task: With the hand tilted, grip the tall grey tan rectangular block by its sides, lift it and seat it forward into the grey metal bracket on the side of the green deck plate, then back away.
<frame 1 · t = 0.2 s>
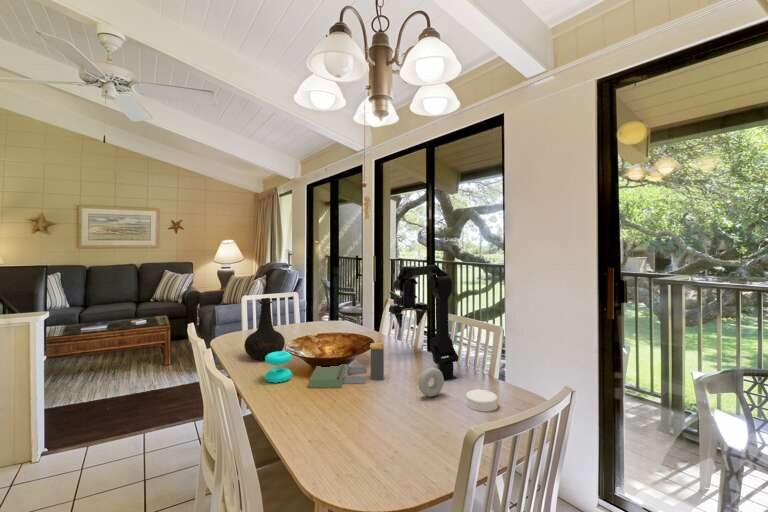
hand: (409, 326, 168), 15 cm above the table, tool pointing down, fingers open, 9 cm apart
donuts: (278, 379, 142), on the table
white round disc: (481, 406, 118), on the table
donut: (431, 396, 125), on the table
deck: (357, 377, 143), on the table
grey tan rectangular block: (377, 377, 143), on the table
dark bulbous vase: (265, 357, 170), on the table
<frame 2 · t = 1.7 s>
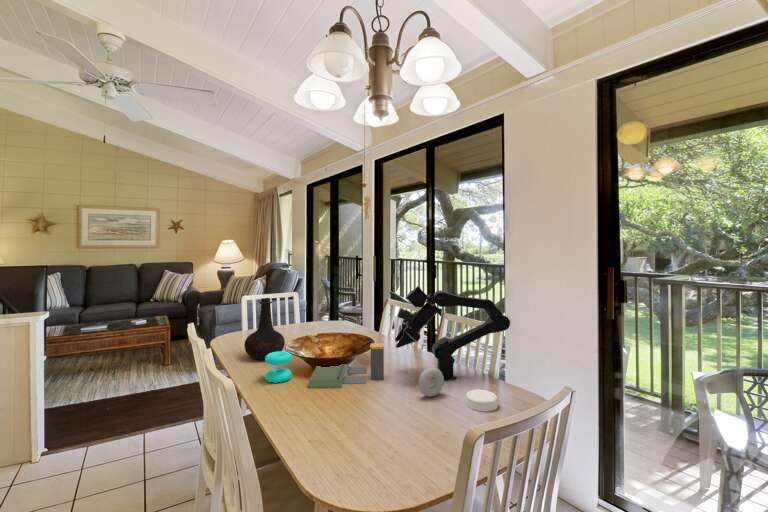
hand: (396, 343, 143), 13 cm above the table, tool tilted 45°, fingers open, 9 cm apart
nothing on the table moved.
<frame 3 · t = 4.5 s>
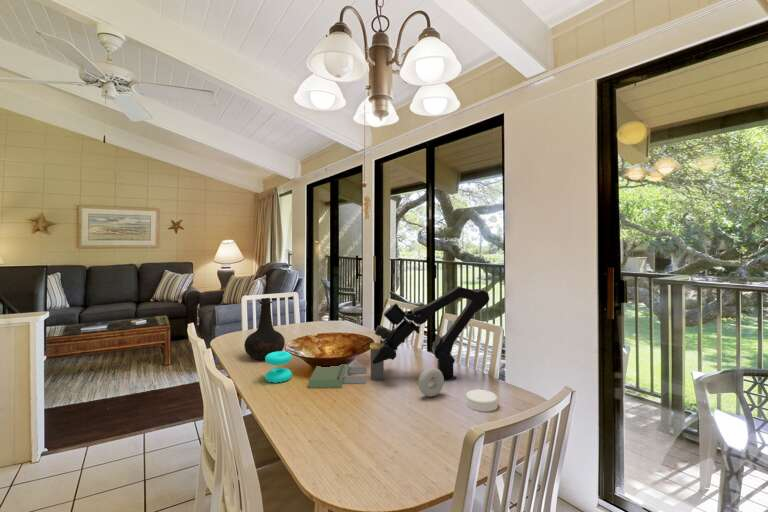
hand: (373, 360, 143), 7 cm above the table, tool tilted 45°, fingers closed on grey tan rectangular block, 5 cm apart
grey tan rectangular block: (377, 377, 143), on the table, touching gripper
everything else where it was.
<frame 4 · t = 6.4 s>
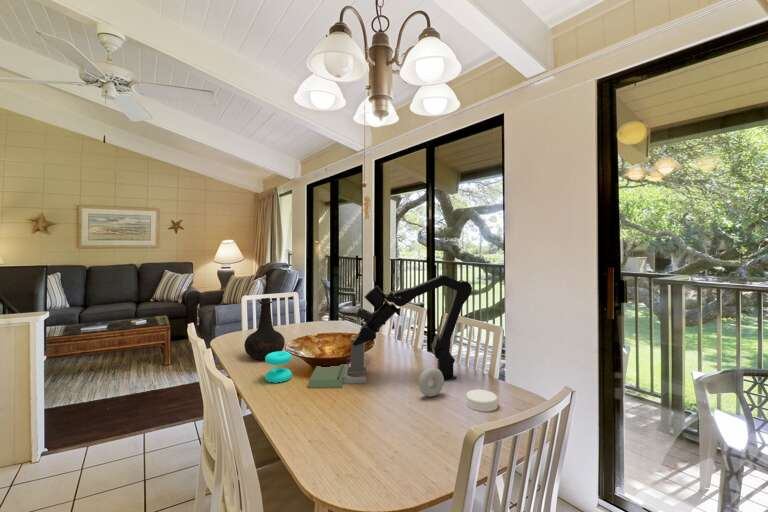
hand: (354, 343, 143), 14 cm above the table, tool tilted 45°, fingers closed on grey tan rectangular block, 5 cm apart
grey tan rectangular block: (357, 369, 143), point 3 cm above the table, touching gripper
everything else where it was.
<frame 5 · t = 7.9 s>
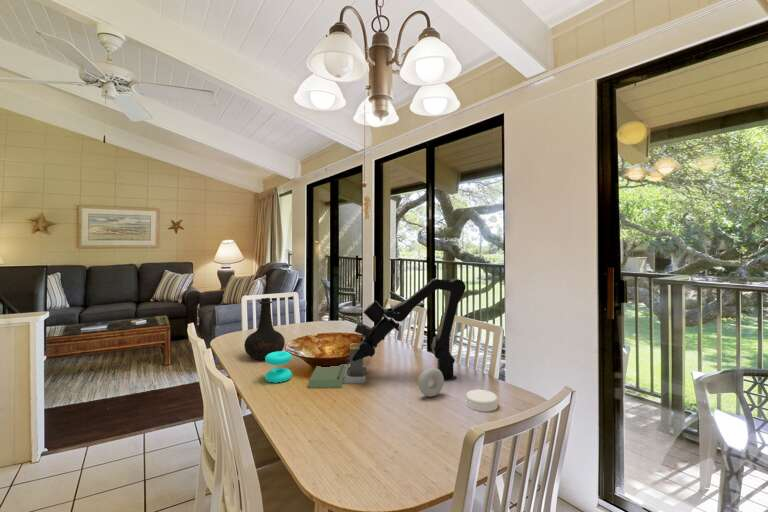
hand: (353, 358, 143), 8 cm above the table, tool tilted 45°, fingers closed on grey tan rectangular block, 5 cm apart
grey tan rectangular block: (356, 377, 143), on the table, touching gripper
everything else where it was.
when the fingers open (8 cm above the table, at t = 8.3 s): grey tan rectangular block stays where it is, on the table.
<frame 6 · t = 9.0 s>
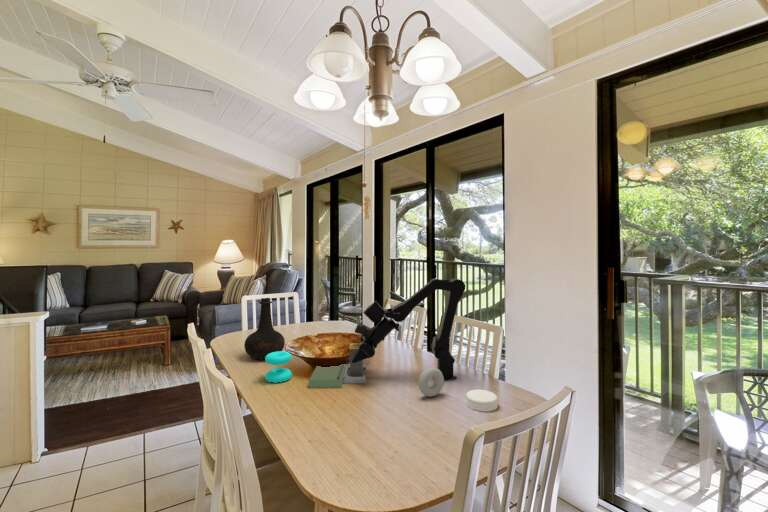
hand: (353, 358, 143), 8 cm above the table, tool tilted 45°, fingers open, 9 cm apart
grey tan rectangular block: (356, 377, 143), on the table
everything else where it was.
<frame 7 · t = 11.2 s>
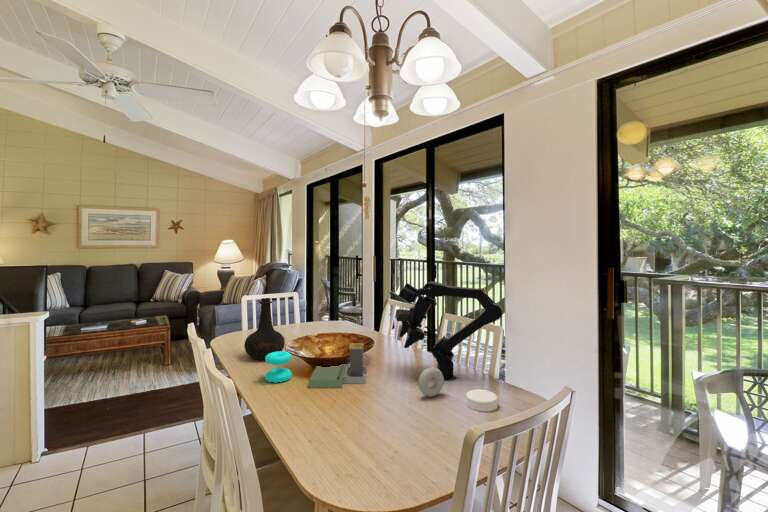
hand: (402, 342, 148), 13 cm above the table, tool tilted 30°, fingers open, 9 cm apart
nothing on the table moved.
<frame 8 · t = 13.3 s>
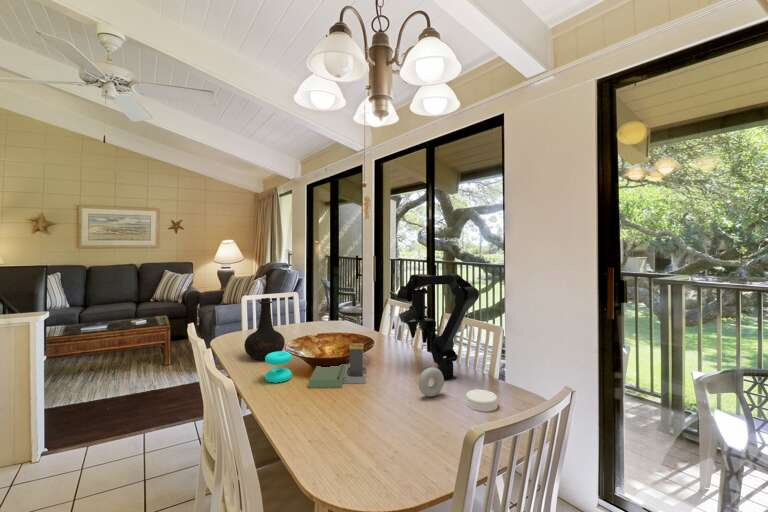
hand: (418, 340, 154), 12 cm above the table, tool pointing down, fingers open, 9 cm apart
nothing on the table moved.
at the end: grey tan rectangular block 0.2 cm from the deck (horizontally); grey tan rectangular block tilted 0°; the gripper is holding nothing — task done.
